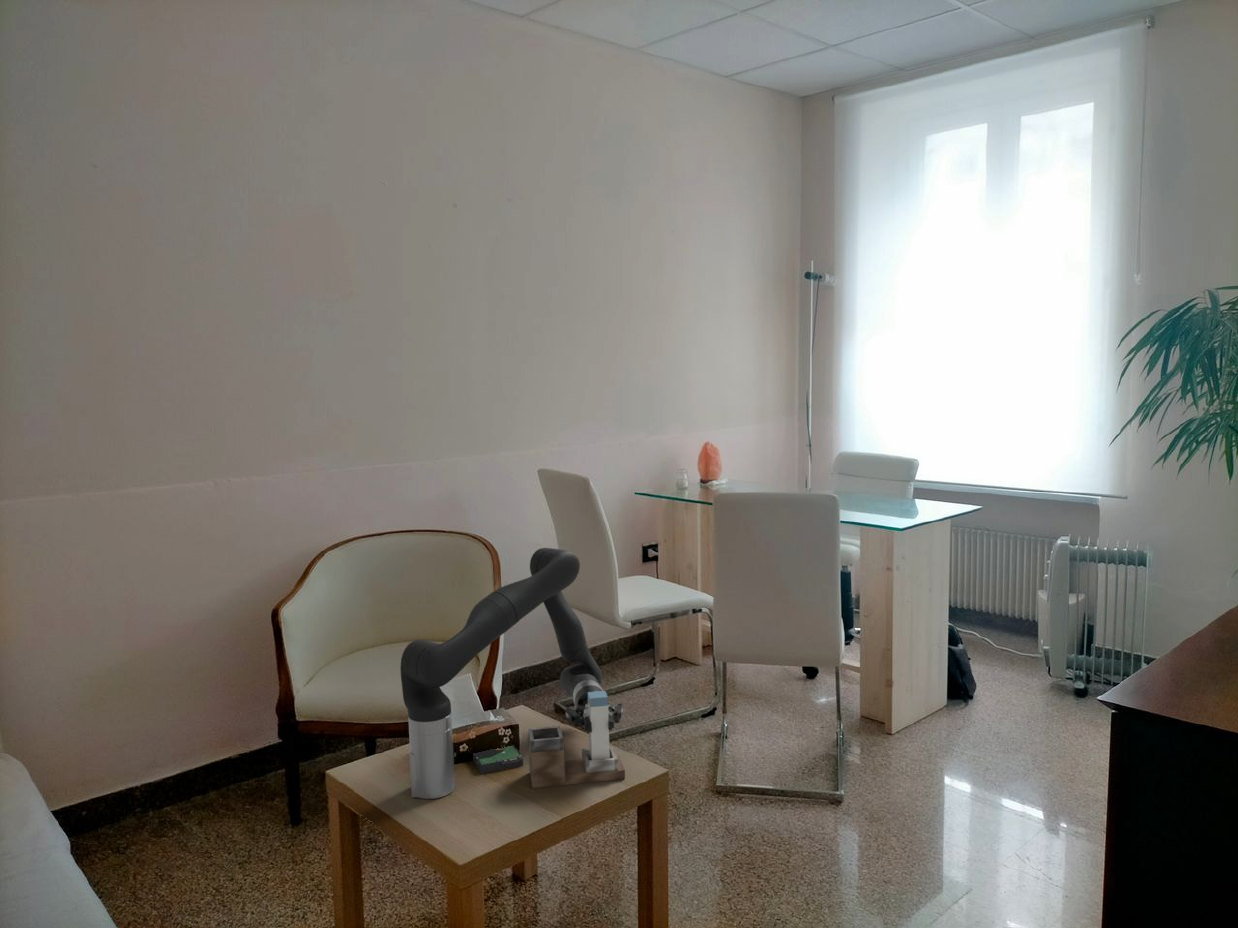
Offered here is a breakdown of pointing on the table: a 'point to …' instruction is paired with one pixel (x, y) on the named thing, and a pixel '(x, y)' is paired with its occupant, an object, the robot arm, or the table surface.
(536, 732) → the square socket stand
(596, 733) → the plug
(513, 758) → the disk drive
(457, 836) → the table surface
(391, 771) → the table surface
